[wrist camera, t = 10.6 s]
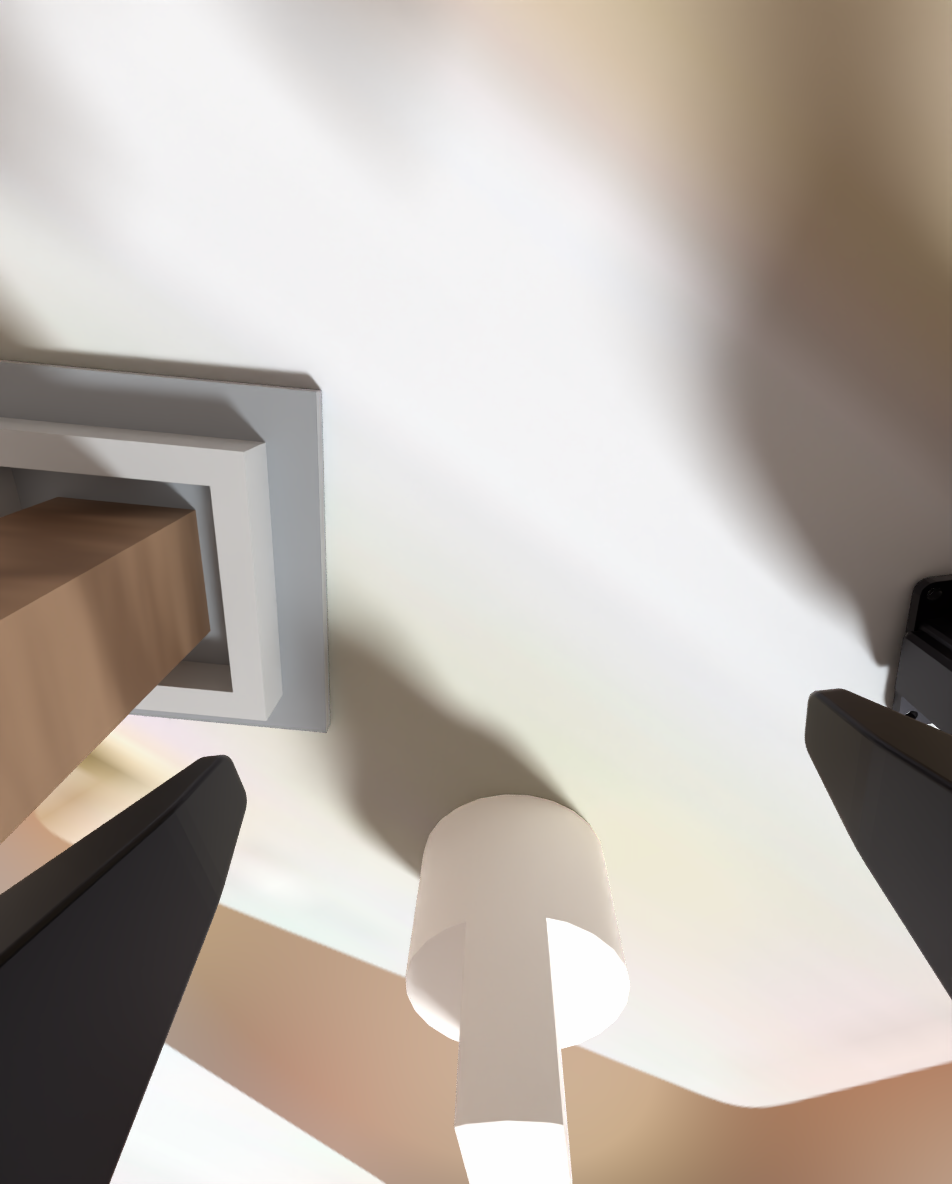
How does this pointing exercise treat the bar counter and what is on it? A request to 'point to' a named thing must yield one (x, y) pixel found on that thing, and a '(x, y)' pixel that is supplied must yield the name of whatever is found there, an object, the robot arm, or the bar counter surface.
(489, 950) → the cylinder with rectangular tab
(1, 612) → the tapered wooden block
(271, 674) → the bay tray
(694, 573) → the bar counter surface
